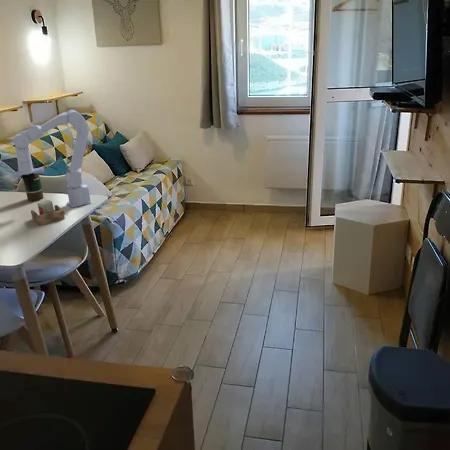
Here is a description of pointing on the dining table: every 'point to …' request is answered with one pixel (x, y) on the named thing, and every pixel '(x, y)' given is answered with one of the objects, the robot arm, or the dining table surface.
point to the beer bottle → (35, 189)
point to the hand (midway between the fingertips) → (30, 190)
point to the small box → (45, 207)
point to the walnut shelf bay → (48, 216)
